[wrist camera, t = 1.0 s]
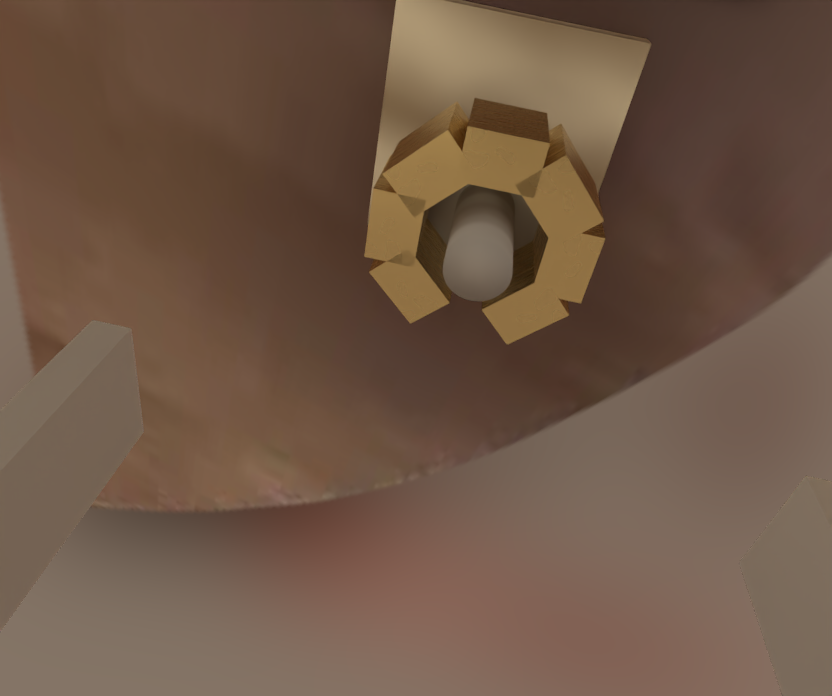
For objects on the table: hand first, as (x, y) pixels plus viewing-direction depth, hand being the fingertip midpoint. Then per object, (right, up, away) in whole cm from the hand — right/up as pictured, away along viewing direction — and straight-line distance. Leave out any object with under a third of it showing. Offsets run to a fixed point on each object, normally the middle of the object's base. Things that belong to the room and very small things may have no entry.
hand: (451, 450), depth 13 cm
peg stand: (+3, +11, +16) cm, 20 cm away
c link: (+2, +7, +9) cm, 12 cm away
